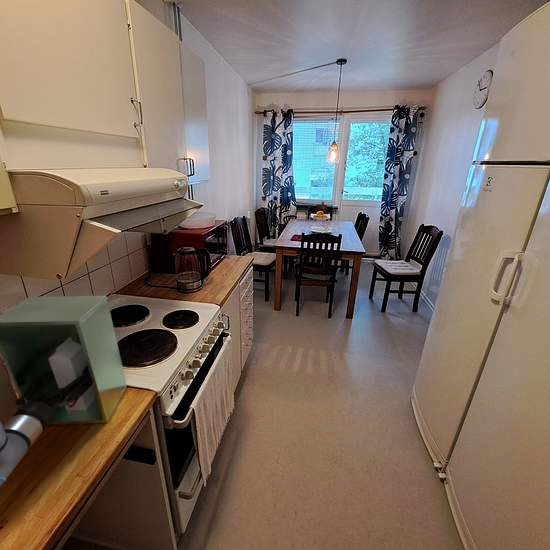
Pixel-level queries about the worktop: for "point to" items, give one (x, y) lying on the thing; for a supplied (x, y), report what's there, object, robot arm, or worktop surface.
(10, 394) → the fridge door
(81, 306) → the fridge
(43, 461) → the worktop surface
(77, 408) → the milk
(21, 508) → the worktop surface
